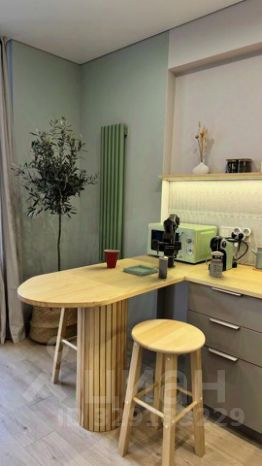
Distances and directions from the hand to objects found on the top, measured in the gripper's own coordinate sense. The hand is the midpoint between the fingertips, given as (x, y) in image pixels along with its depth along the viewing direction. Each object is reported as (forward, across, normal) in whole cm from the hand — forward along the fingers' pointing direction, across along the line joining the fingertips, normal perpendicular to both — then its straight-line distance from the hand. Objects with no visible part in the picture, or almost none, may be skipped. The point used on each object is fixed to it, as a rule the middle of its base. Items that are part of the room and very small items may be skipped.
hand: (165, 255), depth 199 cm
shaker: (+14, 0, +4) cm, 14 cm away
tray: (+6, -16, +12) cm, 21 cm away
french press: (-1, +30, +19) cm, 36 cm away
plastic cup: (+3, -37, +15) cm, 40 cm away
